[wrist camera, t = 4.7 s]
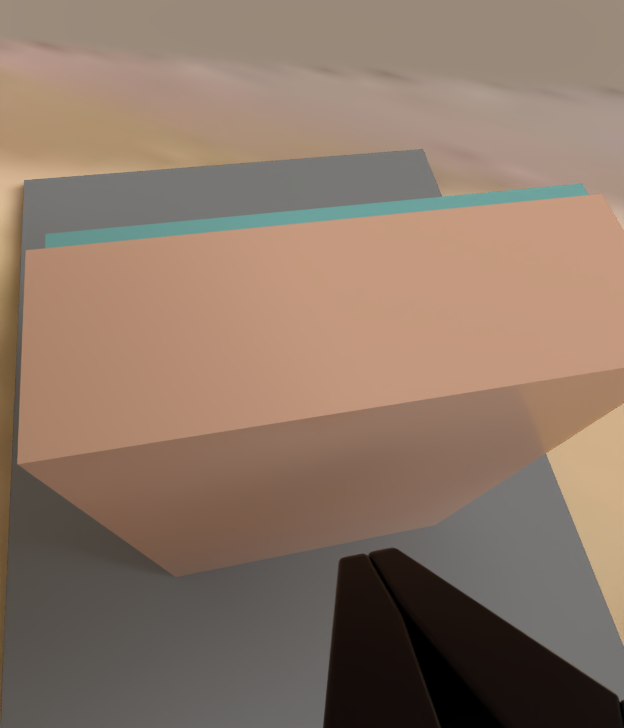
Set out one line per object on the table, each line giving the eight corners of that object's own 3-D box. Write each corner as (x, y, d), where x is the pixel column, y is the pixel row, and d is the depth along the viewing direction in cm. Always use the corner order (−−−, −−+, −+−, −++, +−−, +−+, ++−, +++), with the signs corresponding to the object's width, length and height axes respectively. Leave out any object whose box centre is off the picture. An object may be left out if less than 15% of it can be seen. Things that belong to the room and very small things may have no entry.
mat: (644, 734, 13) (661, 739, 13) (4, 919, 11) (-9, 933, 10) (419, 161, 22) (422, 149, 22) (30, 192, 20) (24, 180, 19)
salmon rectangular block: (434, 525, 15) (695, 356, 6) (175, 576, 14) (17, 464, 5) (408, 436, 16) (595, 182, 7) (166, 477, 15) (26, 236, 6)
